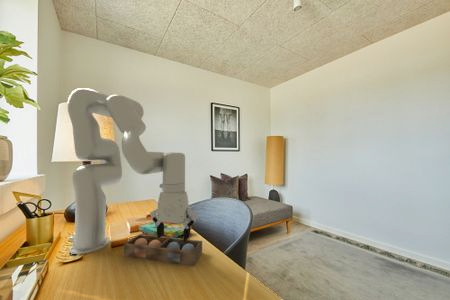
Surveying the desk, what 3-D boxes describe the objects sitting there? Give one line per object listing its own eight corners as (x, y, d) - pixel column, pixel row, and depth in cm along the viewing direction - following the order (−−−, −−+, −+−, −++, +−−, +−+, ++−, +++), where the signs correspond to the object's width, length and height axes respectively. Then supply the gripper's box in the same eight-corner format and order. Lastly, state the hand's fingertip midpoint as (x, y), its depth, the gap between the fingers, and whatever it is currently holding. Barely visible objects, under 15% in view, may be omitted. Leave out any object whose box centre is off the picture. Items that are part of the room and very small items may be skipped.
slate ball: (163, 258, 60) (163, 244, 61) (170, 251, 65) (170, 238, 65) (176, 260, 59) (176, 246, 60) (182, 253, 64) (182, 240, 64)
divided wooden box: (123, 258, 61) (123, 244, 62) (139, 246, 70) (139, 234, 70) (193, 268, 56) (193, 253, 56) (202, 254, 64) (202, 240, 64)
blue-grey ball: (178, 261, 59) (179, 246, 59) (184, 253, 64) (184, 240, 64) (192, 262, 58) (192, 248, 58) (197, 255, 63) (197, 241, 63)
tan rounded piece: (130, 254, 63) (130, 241, 63) (139, 247, 68) (139, 235, 68) (142, 255, 62) (142, 242, 62) (150, 249, 67) (150, 236, 67)
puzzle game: (161, 216, 90) (191, 224, 80) (161, 226, 90) (191, 235, 80) (139, 224, 80) (171, 234, 70) (139, 235, 80) (170, 247, 70)
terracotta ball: (144, 256, 62) (144, 242, 62) (152, 249, 66) (152, 236, 66) (156, 258, 61) (156, 244, 61) (163, 251, 65) (164, 238, 66)
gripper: (145, 188, 61) (144, 240, 60) (193, 191, 57) (192, 245, 57) (157, 185, 68) (157, 231, 68) (201, 187, 65) (200, 235, 64)
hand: (173, 237), depth 62 cm, fingers open, 9 cm apart
